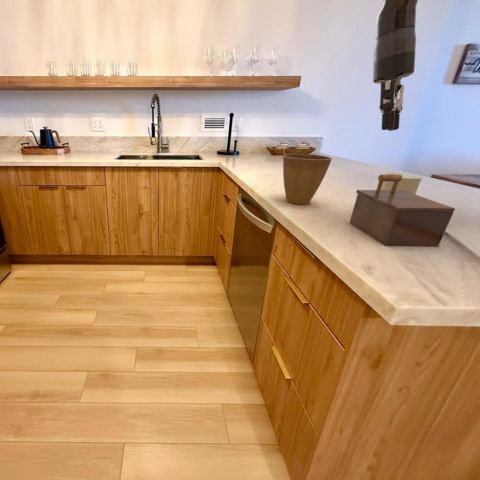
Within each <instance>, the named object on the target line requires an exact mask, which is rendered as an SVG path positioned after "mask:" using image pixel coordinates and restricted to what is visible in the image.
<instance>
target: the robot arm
mask: <svg viewBox="0 0 480 480" xmlns="http://www.w3.org/2000/svg"><path fill="white" fill-rule="evenodd" d="M418 3H419V0H384V3H383V6H382V8H381V9H380V11H379V13H378V15H377V17H376V23H375V45H374V48H373V49H374V50H373V71H372V72H373V73H372V74H373V75H372V78H373V79H372V82H373V83H374V84H380V85H379V86H380V99H379V107H378V109H379V110H380V113H381V130H382V131H389V132H391V131H398V130H399V129H400V120H401V119H400V115H401V113H402V111H403V104H404V92H405V85H404V84H401V81H402V79H403V78H407V77H409V76H412V75H413V74H414V73H415V65H416V64H415V63H416V47H417V34H416V21H417V5H418Z"/></svg>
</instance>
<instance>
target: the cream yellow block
mask: <svg viewBox="0 0 480 480" xmlns="http://www.w3.org/2000/svg"><path fill="white" fill-rule="evenodd" d="M384 175H402V180H401V181H399V182H398V185H397V188H396V190H404V191H407V192H409V193H412V194H415V195H417V191H418V189H419V186H420V183H421V181H422V179H423V177H422V176H421V175H417V174H412V173H405V172H386V173H384ZM393 184H394V181H383V184H382V187H381V190H392V187H393Z"/></svg>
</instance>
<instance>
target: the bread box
mask: <svg viewBox="0 0 480 480" xmlns="http://www.w3.org/2000/svg"><path fill="white" fill-rule="evenodd" d="M453 214H454V212H435V211H396V210H394V209H391V208H389V207H387V206H385V205H382V204H380V203H378V202H376V201H374V200H371V199H369V198H367V197H365V196H362V195H360V194H358V193H357V195H356V198H355V202H354V205H353V209H352V213H351V216H350V219H349V224H350V223H351V224H350V225H352V226H354V227H355V226H356V227H355V228H357V229H358V228H359V229H358V230H360V231H361V230H362V232H363V233H364V234H366V233H367V234H366V235H367V236H369V235H370V236H369V237H371V238H372V237H373V238H372V239H374V240H375V241H377V242H378V243H380V244H382V245H383V246H385V247H389V246H390V247H399V246H400V247H439V246H440V244H441V241H442V240H443V237H444V235H445V233H446V230H447V228H448V226H449V223H450V222H451V219H452V216H453Z"/></svg>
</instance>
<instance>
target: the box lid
mask: <svg viewBox="0 0 480 480" xmlns="http://www.w3.org/2000/svg"><path fill="white" fill-rule="evenodd" d="M377 177H378V178H377V181H378V183H377V187H376V189H357V190H356V194H357V195H358V194H360V195H362V196H365V197H367V198H369V199H371V200H374V201H376V202H378V203H380V204H382V205H385V206H387V207H389V208H391V209H394V210H396V211H435V212H453V213H454V212H455V210H456V208H455V207H452V206H449V205H446V204H444V203H441V202H438V201H435V200H432V199H429V198H427V197H424V196H420V195H418V194H412V193H409V192H407V191H404V190H396V188H397V185H398V182H399V181H401V180H402V175H385V174H379V175H378V176H377ZM383 181H394V184H393V187H392V190H381V187H382V184H383Z"/></svg>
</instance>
